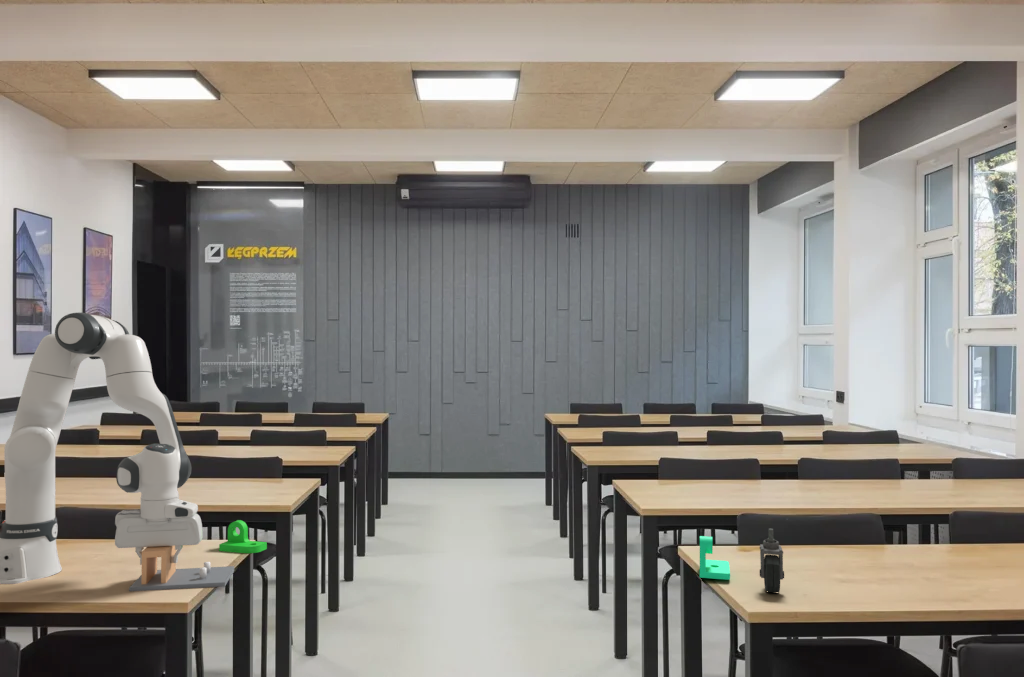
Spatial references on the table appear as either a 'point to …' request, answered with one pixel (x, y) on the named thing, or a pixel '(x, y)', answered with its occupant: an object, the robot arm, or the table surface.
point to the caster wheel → (771, 563)
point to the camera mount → (712, 562)
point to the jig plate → (187, 579)
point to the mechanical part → (241, 540)
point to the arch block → (151, 563)
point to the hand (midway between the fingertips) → (159, 563)
